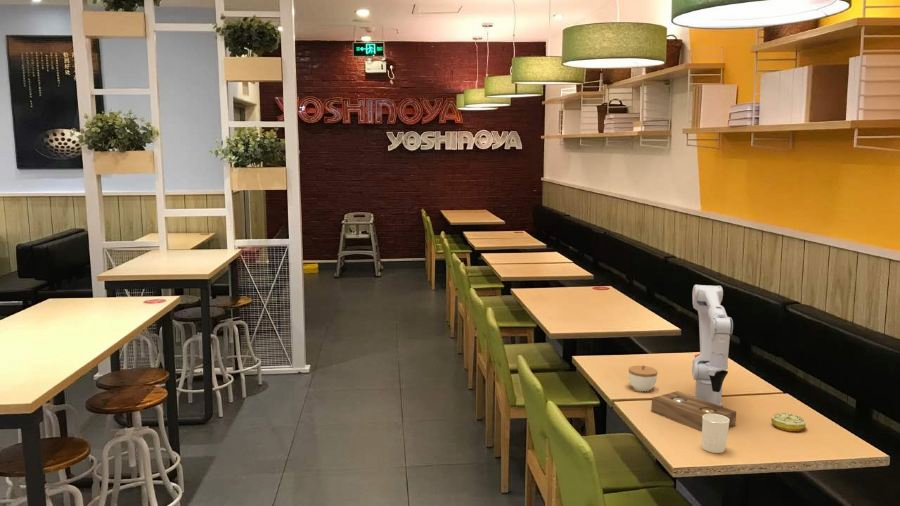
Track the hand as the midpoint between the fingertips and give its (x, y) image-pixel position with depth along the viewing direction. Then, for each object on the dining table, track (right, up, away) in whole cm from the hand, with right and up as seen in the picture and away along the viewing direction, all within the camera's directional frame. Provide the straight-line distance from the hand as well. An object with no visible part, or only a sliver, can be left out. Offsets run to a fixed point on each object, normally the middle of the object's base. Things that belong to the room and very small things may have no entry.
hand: (716, 391), depth 251 cm
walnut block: (-7, -10, +3) cm, 13 cm away
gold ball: (-4, -11, -2) cm, 12 cm away
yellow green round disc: (+23, -12, -2) cm, 26 cm away
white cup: (-9, -14, -22) cm, 28 cm away
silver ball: (-11, -9, +8) cm, 16 cm away
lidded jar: (-17, -5, +32) cm, 37 cm away
